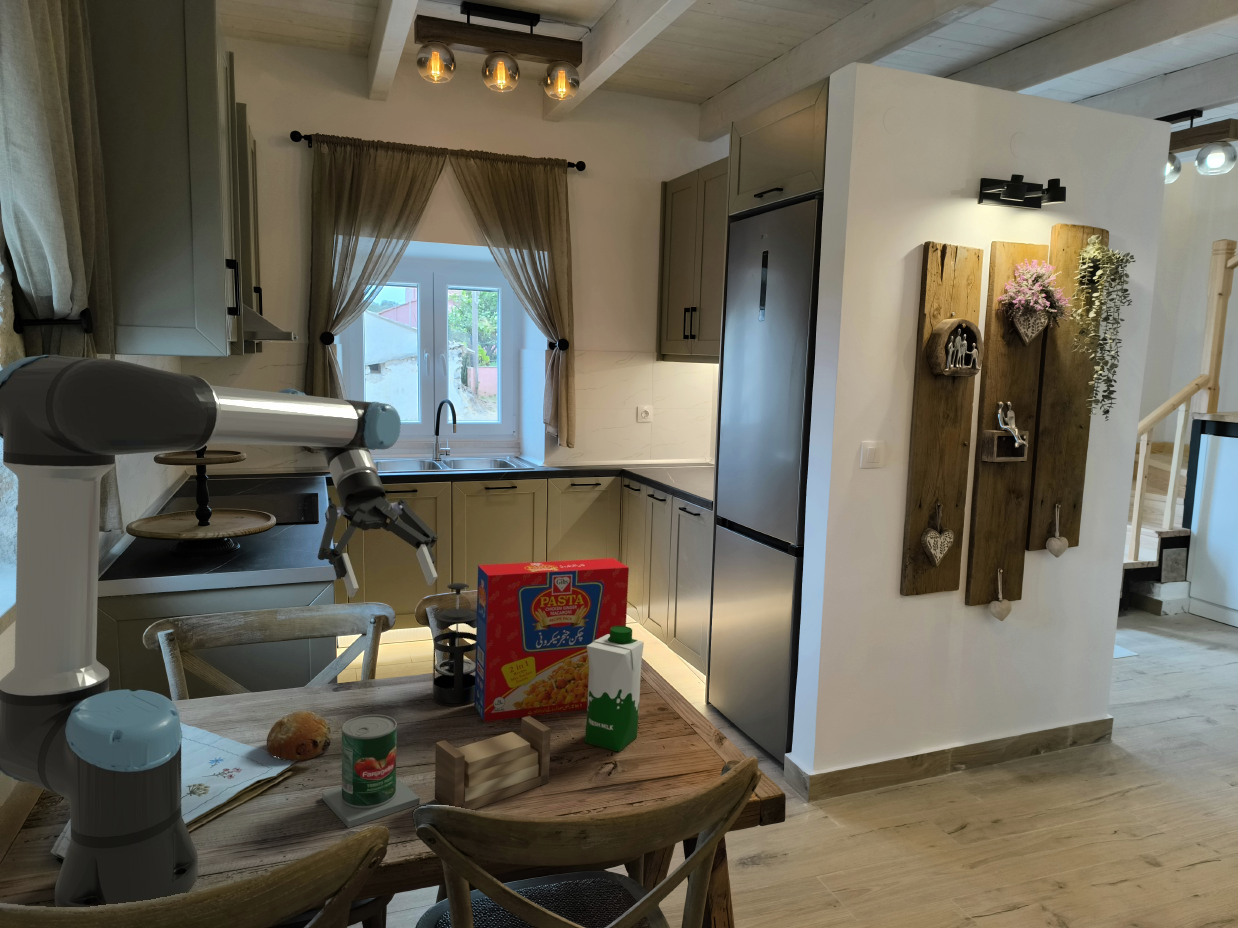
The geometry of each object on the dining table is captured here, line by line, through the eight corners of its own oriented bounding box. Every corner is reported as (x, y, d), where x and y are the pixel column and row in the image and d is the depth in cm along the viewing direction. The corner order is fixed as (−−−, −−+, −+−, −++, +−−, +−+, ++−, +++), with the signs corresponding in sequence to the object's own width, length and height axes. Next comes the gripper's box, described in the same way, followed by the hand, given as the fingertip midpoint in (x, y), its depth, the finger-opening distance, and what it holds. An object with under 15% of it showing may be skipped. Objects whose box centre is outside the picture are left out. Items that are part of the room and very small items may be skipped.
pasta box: (484, 721, 153) (488, 575, 150) (474, 705, 160) (478, 565, 157) (622, 704, 164) (628, 567, 161) (607, 689, 171) (613, 558, 168)
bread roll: (312, 752, 146) (300, 708, 147) (349, 742, 140) (335, 697, 141) (263, 774, 137) (250, 728, 138) (300, 765, 132) (286, 717, 133)
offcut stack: (464, 801, 122) (465, 764, 121) (447, 786, 126) (447, 750, 125) (538, 776, 130) (539, 741, 130) (519, 762, 134) (520, 729, 134)
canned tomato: (364, 777, 128) (365, 710, 127) (406, 788, 126) (407, 719, 124) (329, 801, 121) (329, 730, 120) (373, 813, 118) (374, 740, 117)
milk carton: (643, 736, 150) (649, 630, 147) (620, 755, 142) (626, 643, 139) (601, 725, 154) (606, 621, 151) (577, 743, 146) (581, 634, 143)
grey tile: (348, 827, 116) (348, 821, 116) (321, 798, 124) (321, 791, 124) (419, 803, 123) (419, 797, 123) (390, 777, 131) (390, 771, 131)
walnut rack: (454, 816, 120) (455, 757, 119) (434, 798, 125) (435, 742, 124) (548, 782, 131) (550, 728, 130) (527, 767, 136) (529, 715, 135)
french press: (482, 705, 160) (486, 590, 157) (433, 709, 157) (436, 592, 154) (475, 683, 171) (477, 575, 168) (428, 686, 168) (431, 576, 166)
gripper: (416, 491, 153) (454, 588, 143) (278, 500, 136) (311, 610, 127) (430, 466, 148) (471, 564, 138) (289, 472, 132) (324, 584, 122)
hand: (394, 586), depth 133 cm, fingers open, 13 cm apart
